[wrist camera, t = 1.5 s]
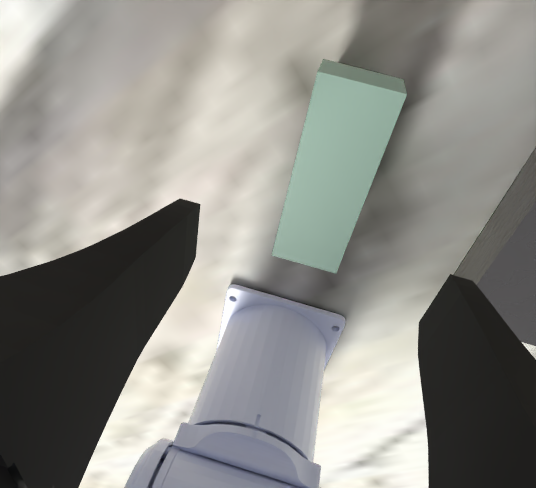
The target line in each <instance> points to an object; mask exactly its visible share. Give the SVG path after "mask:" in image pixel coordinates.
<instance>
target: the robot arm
mask: <svg viewBox="0 0 536 488" xmlns="http://www.w3.org/2000/svg"><path fill="white" fill-rule="evenodd" d="M199 213H200V204H198V203H194V202H190V201H187V200H183V199H178V200H176V201H175V202H173V203H171V204H169V205H168V206H166V207H164V208H162V209H160V210H159V211H157V212H155V213H154V214H152V215H150V216H148V217H146V218H145V219H143V220H141V221H139V222H137V223H136V224H134V225H132V226H130V227H128V228H126V229H125V230H123V231H121V232H118V233H116V234H114V235H112V236H110V237H108V238H106V239H104V240H102V241H100V242H98V243H96V244H94V245H91V246H89V247H87V248H84V249H82V250H79V251H77V252H74V253H72V254H69V255H66V256H64V257H61V258H59V259H56V260H53V261H50V262H47V263H44V264H41V265H37V266H34V267H31V268H28V269H24V270H21V271H18V272H15V273H11V274H8V275H4V276H0V488H78V487H79V485H80V482H81V480H82V478H83V475H84V473H85V471H86V468H87V466H88V464H89V461H90V459H91V457H92V455H93V452H94V450H95V448H96V446H97V443H98V441H99V439H100V437H101V435H102V432H103V430H104V428H105V426H106V423H107V421H108V419H109V417H110V415H111V413H112V411H113V409H114V406H115V404H116V402H117V400H118V398H119V396H120V394H121V392H122V390H123V388H124V386H125V383H126V381H127V379H128V377H129V375H130V373H131V371H132V369H133V367H134V365H135V363H136V361H137V359H138V357H139V356H140V354H141V352H142V350H143V349H144V347H145V345H146V344H147V342H148V340H149V339H150V337H151V336H152V334H153V333H154V331H155V329H156V328H157V326H158V325H159V323H160V321H161V320H162V318H163V317H164V315H165V314H166V312H167V310H168V309H169V307H170V306H171V304H172V302H173V301H174V299H175V298H176V296H177V294H178V293H179V291H180V289H181V288H182V286H183V284H184V282H185V280H186V278H187V276H188V274H189V271H190V269H191V267H192V265H193V262H194V260H195V257H196V246H197V235H198V224H199ZM232 296H234V297H236V298H234V297H232ZM345 321H346V320H345V318H344V317H343V316H342V315H339V314H336V313H332V312H329V311H325V310H322V309H318V308H315V307H312V306H308V305H305V304H301V303H298V302H294V301H291V300H288V299H284V298H281V297H277V296H274V295H270V294H267V293H263V292H260V291H257V290H253V289H250V288H246V287H243V286H239V285H235V284H232V285H230V286H229V287H228V290H227V293H226V299H225V305H224V311H223V316H222V322H221V328H220V334H219V340H218V345H217V351H216V354H215V356H214V359H213V362H212V364H211V367H210V369H209V372H208V374H207V377H206V379H205V382H204V384H203V387H202V389H201V392H200V394H199V397H198V400H197V402H196V405H195V407H194V410H193V412H192V415H191V417H190V420H189V422H188V423H184V422H183V423H181V425H180V428H179V430H178V433H177V435H176V438H175V440H174V442H173V441H172V440H169V439H160V440H159V441H158V442H157V443H156V444H154V445H152V446H151V447H149V448H148V449H146V450H145V452H144V453H143V454H142V456H141V457H140V459H139V460H138V462H137V464H136V465H135V467H134V469H133V471H132V473H131V475H130V477H129V479H128V481H127V483H126V485H125V487H124V488H320V487H319V481H320V471H321V466H320V465H319V464H316V463H313V458H314V450H315V441H316V432H317V424H318V415H319V407H320V398H321V390H322V381H323V373H324V369H325V367H326V365H327V363H328V361H329V359H330V357H331V354H332V352H333V350H334V348H335V346H336V344H337V342H338V339H339V337H340V335H341V333H342V331H343V329H344V326H345ZM334 326H337V327H334ZM418 359H419V368H420V377H421V386H422V394H423V402H424V410H425V419H426V427H427V437H428V462H429V488H536V360H535V358H534V357H533V356H532V355H531V354H530V352H529V351H528V350H527V349H526V347H525V346H524V345H523V344H522V343H521V341H520V340H519V339H518V338H517V336H516V335H515V334H514V332H513V331H512V330H511V329H510V327H509V326H508V325H507V323H506V322H505V321H504V320H503V318H502V317H501V316H500V314H499V313H498V312H497V310H496V309H495V308H494V307H493V305H492V304H491V303H490V301H489V300H488V299H487V297H486V296H485V295H484V294H483V292H482V291H481V290H480V289H479V287H478V286H477V285H476V284H475V283H474V282H473V281H472V280H469V279H465V278H462V277H458V276H454V275H451V274H450V276H449V277H448V279H447V280H446V282H445V283H444V285H443V286H442V288H441V289H440V291H439V293H438V294H437V296H436V297H435V299H434V300H433V302H432V303H431V305H430V306H429V308H428V309H427V311H426V312H425V314H424V316H423V317H422V319H421V320H420V322H419V335H418Z"/></svg>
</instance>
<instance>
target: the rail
mask: <svg viewBox="0 0 536 488" xmlns="http://www.w3.org/2000/svg"><path fill="white" fill-rule="evenodd" d="M454 276H458V277H462V278H465V279H469V280H472V281H473V282H474V283H475V284H476V285H477V286H478V287H479V289H480V290H481V291H482V292H483V294H484V295H485V296H486V297H487V299H488V300H489V301H490V303H491V304H492V305H493V307H494V308H495V309H496V310H497V312H498V313H499V314H500V316H501V317H502V318H503V320H504V321H505V322H506V323H507V325H508V326H509V327H510V329H511V330H512V331H513V332H514V334H515V335H516V336H517V338H518V339H519V340H520V341H521V342H524V343H527V344H531V345H534V346H536V148H535V150H534V151H533V153H532V154H531V156H530V158H529V159H528V161H527V162H526V164H525V165H524V167H523V168H522V170H521V172H520V173H519V175H518V176H517V178H516V179H515V181H514V182H513V184H512V185H511V187H510V189H509V190H508V192H507V193H506V195H505V196H504V198H503V199H502V201H501V203H500V204H499V206H498V207H497V209H496V210H495V212H494V213H493V215H492V216H491V218H490V220H489V221H488V223H487V224H486V226H485V227H484V229H483V230H482V232H481V233H480V235H479V237H478V238H477V240H476V241H475V243H474V244H473V246H472V247H471V249H470V251H469V252H468V254H467V255H466V257H465V258H464V260H463V261H462V263H461V264H460V266H459V268H458V269H457V271H456V272H455V274H454Z"/></svg>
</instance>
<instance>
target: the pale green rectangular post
mask: <svg viewBox="0 0 536 488" xmlns="http://www.w3.org/2000/svg"><path fill="white" fill-rule="evenodd" d="M406 96H407V92H406V88H405V84H404V80H403V79H400V78H396V77H392V76H388V75H385V74H381V73H377V72H373V71H369V70H366V69H362V68H358V67H354V66H350V65H346V64H342V63H338V62H333V61H329V60H326V59H323V61H322V63H321V65H320V67H319V69H318V72H317V76H316V80H315V84H314V88H313V92H312V96H311V100H310V104H309V108H308V112H307V116H306V120H305V124H304V128H303V132H302V136H301V140H300V144H299V148H298V152H297V156H296V160H295V164H294V168H293V172H292V176H291V179H290V183H289V187H288V191H287V195H286V199H285V203H284V207H283V211H282V215H281V219H280V223H279V227H278V231H277V235H276V239H275V243H274V247H273V251H272V256H276V257H279V258H283V259H286V260H290V261H293V262H297V263H300V264H304V265H307V266H311V267H314V268H318V269H321V270H325V271H328V272H332V273H335V274H336V272H337V270H338V267H339V265H340V262H341V260H342V257H343V255H344V252H345V250H346V247H347V245H348V242H349V240H350V237H351V235H352V232H353V230H354V227H355V225H356V222H357V219H358V217H359V214H360V212H361V209H362V207H363V204H364V202H365V199H366V197H367V194H368V192H369V189H370V187H371V184H372V182H373V179H374V177H375V174H376V172H377V169H378V166H379V164H380V161H381V159H382V156H383V154H384V151H385V149H386V146H387V144H388V141H389V139H390V136H391V134H392V131H393V129H394V126H395V124H396V121H397V118H398V116H399V113H400V111H401V108H402V106H403V103H404V101H405V98H406Z"/></svg>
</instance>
